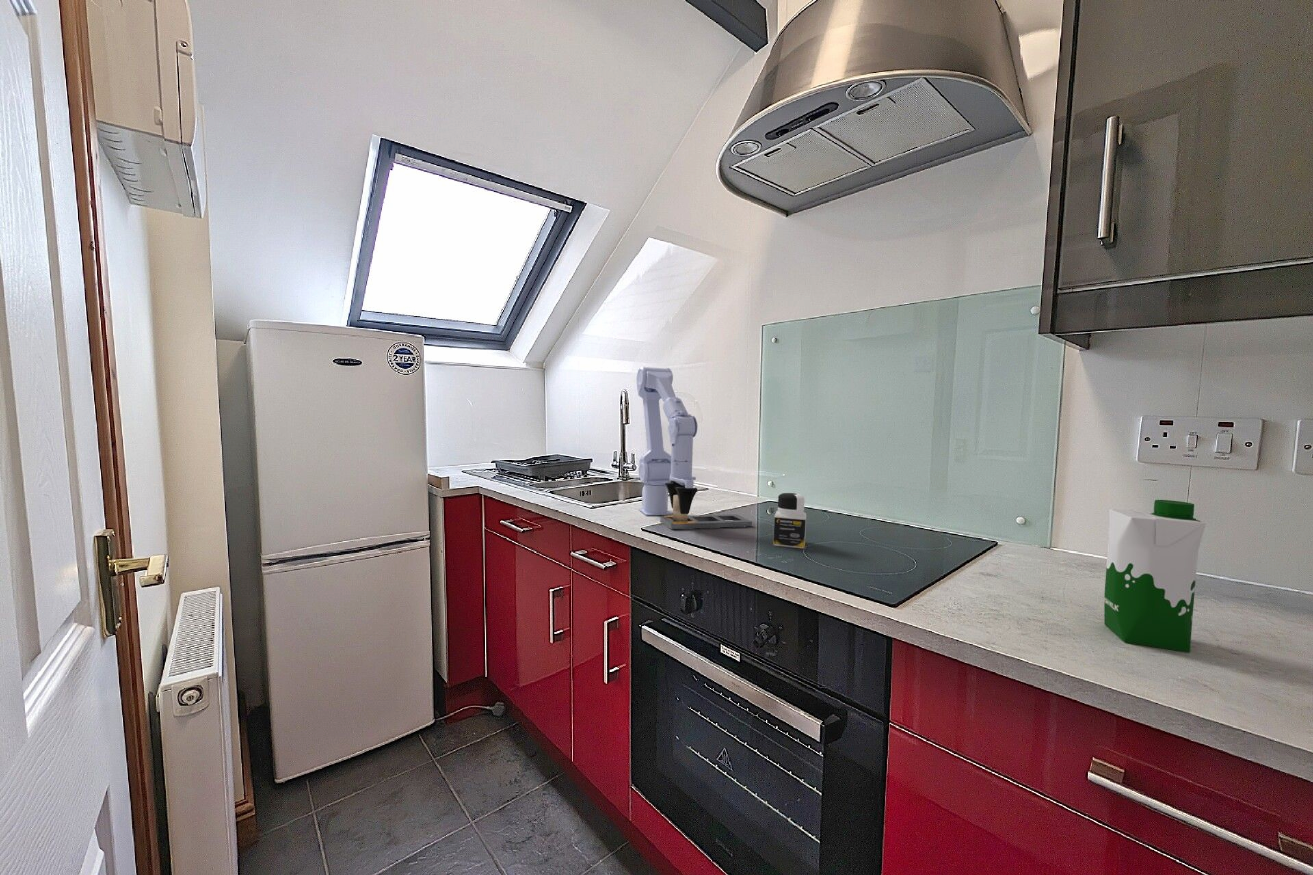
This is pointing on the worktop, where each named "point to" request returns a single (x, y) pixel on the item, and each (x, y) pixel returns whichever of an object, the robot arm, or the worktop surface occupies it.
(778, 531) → the medicine bottle
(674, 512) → the peg
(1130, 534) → the milk carton
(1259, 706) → the worktop surface
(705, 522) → the gray compartment tray
